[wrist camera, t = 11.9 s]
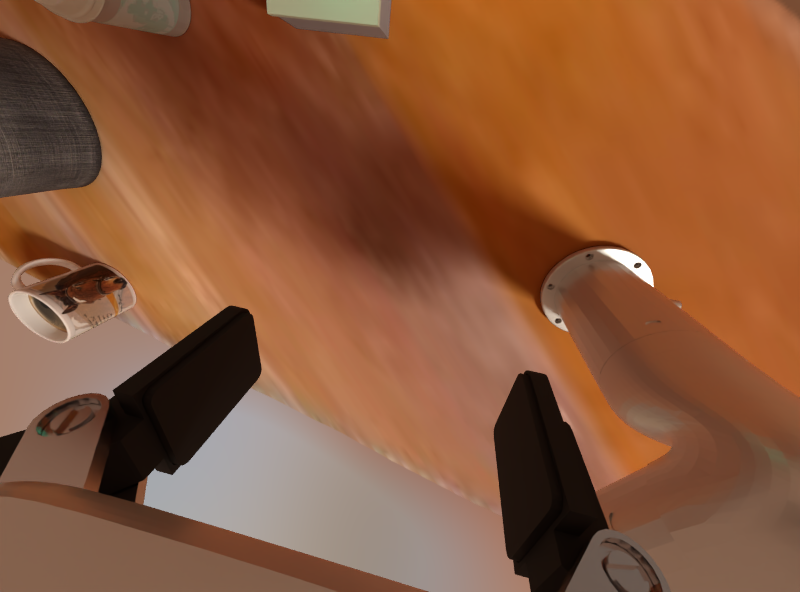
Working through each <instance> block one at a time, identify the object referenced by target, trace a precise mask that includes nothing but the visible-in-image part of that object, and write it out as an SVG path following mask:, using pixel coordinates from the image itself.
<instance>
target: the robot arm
mask: <svg viewBox="0 0 800 592" xmlns="http://www.w3.org/2000/svg"><path fill="white" fill-rule="evenodd" d="M587 254H589V255H588V256H586V255H587ZM549 284H551V285H549ZM653 286H654V285H653V275H652V273H651V270H650V268H649V266H648V265H647V264H646V262H645V261H644V260H642V259H641V258H640V257H639V256H637V255H636V254H634V253H633V252H631V251H629V250H626V249H623V248H620V247H614V246H597V247H590V248H586V249H583V250H580V251H577V252H575V253H573V254H571V255H569V256H567V257H566V258H564V259H563V260H561V261H560V262H559V263H558V264H557V265H556V266H554V267H553V268H552V269H551V271H550V272H549V273H548V275H547V276H546V278H545V280H544V282H543V284H542V288H541V292H540V302H541V306H542V309H543V311H544V313H545V315H546V316H547V318H548V319H549V321H550V322H551V323H552V324H554V325H555V326H557V327H558V328H560V329H562V330H564V331H567V332H569V333H570V335H571V337H572V338H573V340H574V342H575V344H576V346H577V348H578V349H579V351H580V353H581V355H582V357H583V359H584V360H585V362H586V364H587V366H588V368H589V369H590V371H591V373H592V375H593V377H594V379H595V380H596V382H597V384H598V386H599V388H600V389H601V391H602V393H603V395H604V397H605V398H606V400H607V402H608V404H609V405H610V407H611V408H612V410H613V411H614V412H615V413H616V414H617V416H618V417H619V418H620V419H621V420H623V421H624V422H625V423H626V424H627V425H629V426H630V427H631V428H633V429H635V430H636V431H638V432H640V433H642V434H643V435H645V436H647V437H649V438H652V439H654V440H656V441H658V442H661V443H663V444H666V445H668V446H671V447H672V448H671V450H670V451H669V452H668V453H666V454H665V455H663V456H662V457H660V458H658V459H656V460H655V461H653V462H651V463H649V464H648V465H647V466H646V467H644V468H642V469H640V470H638V471H636V472H634V473H632V474H630V475H628V476H626V477H624V478H622V479H620V480H618V481H616V482H614V483H612V484H610V485H608V486H606V487H604V488H602V489H600V490H598V491H596V492H595V490H594V487H593V484H592V482H591V479H590V476H589V474H588V471H587V468H586V466H585V463H584V460H583V458H582V455H581V452H580V450H579V447H578V445H577V442H576V439H575V437H574V434H573V431H572V429H571V427H570V425H569V424H568V423H567V422H563V419H562V416H561V413H560V411H559V408H558V405H557V402H556V399H555V397H554V394H553V391H552V388H551V385H550V383H549V380H548V377H547V375H545V374H542V373H537V372H533V371H525V373H524V374H521V373H520V374H518V376H517V378H516V380H515V383H514V385H513V387H512V389H511V391H510V394H509V396H508V398H507V400H506V402H505V404H504V407H503V409H502V411H501V413H500V415H499V418H498V420H497V422H496V424H495V428H494V442H495V451H496V461H497V470H498V479H499V489H500V498H501V507H502V517H503V525H504V535H505V543H506V551H507V556H508V558H509V559H512V560H513V562H514V570H515V574H517V575H520V576H523V577H527V578H529V583H530V589H531V592H800V397H798V396H797V395H795V394H793V393H792V392H790V391H789V390H788V389H786V388H785V387H783V386H782V385H780V384H779V383H778V382H776V381H775V380H773V379H772V378H771V377H769V376H768V375H766V374H765V373H764V372H762V371H761V370H760V369H758V368H757V367H756V366H754V365H753V364H752V363H750V362H749V361H747V360H746V359H745V358H744V357H742V356H741V355H740V354H738V353H737V352H736V351H735V350H733V349H732V348H731V347H729V346H728V345H727V344H726V343H724V342H723V341H722V340H720V339H719V338H718V337H717V336H715V335H714V334H713V333H712V332H710V331H709V330H708V329H706V328H705V327H704V326H703V325H701V324H700V323H699V322H697V321H696V320H695V319H694V318H692V317H691V316H690V315H689V314H687V313H686V312H685V311H683V310H682V309H681V307H682V304H681V302H680V301H677V300H671V299H668V298H667V297H666V296H664V295H663V294H662V293H661V292H659V291H658V290H657V289H655V288H654V287H653ZM261 370H262V369H261V362H260V356H259V350H258V344H257V337H256V331H255V325H254V319H253V316H252V314H250V312H249V310H248V309H245V308H240V307H236V306H228V307H227V308H225V309H224V310H222V311H221V312H220V313H218V314H217V315H216V316H214V317H213V318H211V319H210V320H209V321H207V322H206V323H205V324H203V325H202V326H200V327H199V328H198V329H196V330H195V331H194V332H192V333H191V334H189V335H188V336H187V337H185V338H184V339H183V340H181V341H180V342H178V343H177V344H176V345H174V346H173V347H172V348H170V349H169V350H167V351H166V352H165V353H163V354H162V355H161V356H159V357H158V358H156V359H155V360H154V361H152V362H151V363H150V364H148V365H147V366H146V367H144V368H143V369H141V370H140V371H139V372H137V373H136V374H135V375H133V376H132V377H130V378H129V379H128V380H126V381H125V382H124V383H122V384H121V385H119V386H118V387H117V388H115V389H114V390H113V392H114V394H115V396H113V397H112V398H111V399H109V400H108V398H107V397H106V396H104V395H101V394H96V393H89V394H83V395H78V396H74V397H71V398H68V399H65V400H63V401H61V402H59V403H56V404H54V405H53V406H51V407H49V408H48V409H46V410H44V411H43V412H42V413H40V414H39V415H38V416H37V417H36V418H35V419H33V421H32V422H31V423H30V425H29V426H28V427H27V429H26V430H23V431H20V432H16V433H13V434H10V435H7V436H3V437H0V592H428V591H424V590H421V589H418V588H415V587H412V586H408V585H405V584H402V583H399V582H395V581H392V580H389V579H386V578H383V577H379V576H376V575H373V574H370V573H366V572H363V571H360V570H357V569H353V568H350V567H347V566H344V565H340V564H337V563H334V562H331V561H328V560H324V559H321V558H318V557H314V556H311V555H308V554H305V553H301V552H298V551H295V550H291V549H288V548H285V547H282V546H278V545H275V544H272V543H268V542H265V541H262V540H258V539H255V538H252V537H248V536H245V535H242V534H239V533H235V532H232V531H229V530H225V529H222V528H219V527H216V526H212V525H209V524H205V523H202V522H198V521H195V520H192V519H189V518H185V517H182V516H178V515H175V514H172V513H169V512H165V511H162V510H158V509H155V508H152V507H148V506H145V505H143V503H144V497H145V490H146V484H147V477H148V475H149V474H150V473H151V472H152V471H153V470H154V469H156V470H157V471H160V472H164V473H167V474H171V475H173V474H174V473H175V471H176V470H177V469H178V468H179V467H180V466H181V465H184V464H186V463H187V462H188V461H189V460H190V459H191V458H192V457H193V456H194V455H195V453H196V452H197V451H198V450H199V448H200V447H201V446H202V445H203V444H204V443H205V441H206V440H207V439H208V438H209V437H210V435H211V434H212V433H213V432H214V431H215V430H216V428H217V427H218V426H219V425H220V424H221V422H222V421H223V420H224V419H225V418H226V416H227V415H228V414H229V413H230V412H231V410H232V409H233V408H234V407H235V406H236V404H237V403H238V402H239V401H240V400H241V399H242V397H243V396H244V395H245V394H246V393H247V391H248V390H249V389H250V388H251V387H252V385H253V384H254V383H255V382H256V381H257V380H258V378H259V376H260V374H261Z"/></svg>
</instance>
